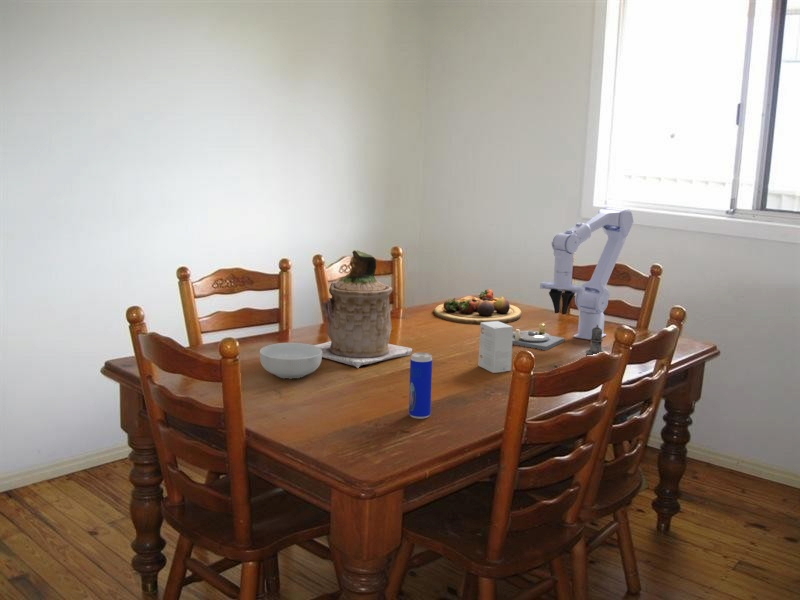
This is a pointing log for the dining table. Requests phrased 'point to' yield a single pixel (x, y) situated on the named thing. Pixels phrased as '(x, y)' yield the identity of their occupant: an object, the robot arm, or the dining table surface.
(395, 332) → the dining table surface
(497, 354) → the small box
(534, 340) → the flange plate
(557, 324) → the dining table surface
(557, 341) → the jig board
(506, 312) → the wooden plate with food
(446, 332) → the dining table surface
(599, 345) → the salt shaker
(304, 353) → the cereal bowl
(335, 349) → the cookie jar
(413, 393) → the beverage can
